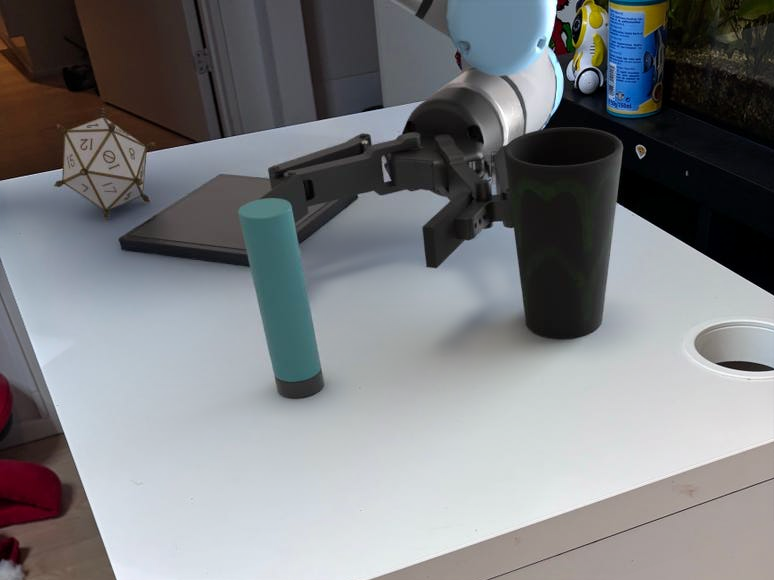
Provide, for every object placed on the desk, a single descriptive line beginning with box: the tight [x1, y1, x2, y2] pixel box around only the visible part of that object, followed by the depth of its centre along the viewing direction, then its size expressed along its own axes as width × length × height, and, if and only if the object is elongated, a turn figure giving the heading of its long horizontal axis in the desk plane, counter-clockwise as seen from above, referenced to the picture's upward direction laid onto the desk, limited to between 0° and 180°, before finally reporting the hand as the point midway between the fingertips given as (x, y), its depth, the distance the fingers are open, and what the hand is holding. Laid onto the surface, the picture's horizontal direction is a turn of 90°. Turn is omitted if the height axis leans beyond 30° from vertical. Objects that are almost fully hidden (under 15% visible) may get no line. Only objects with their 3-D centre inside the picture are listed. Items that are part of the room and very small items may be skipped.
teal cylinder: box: [238, 198, 325, 399], centre depth 65 cm, size 3×3×12 cm
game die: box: [53, 106, 156, 222], centre depth 93 cm, size 9×8×10 cm
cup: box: [504, 126, 624, 340], centre depth 70 cm, size 8×8×12 cm
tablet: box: [117, 173, 359, 267], centre depth 91 cm, size 15×16×1 cm
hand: (339, 238), depth 70 cm, fingers open, 13 cm apart
